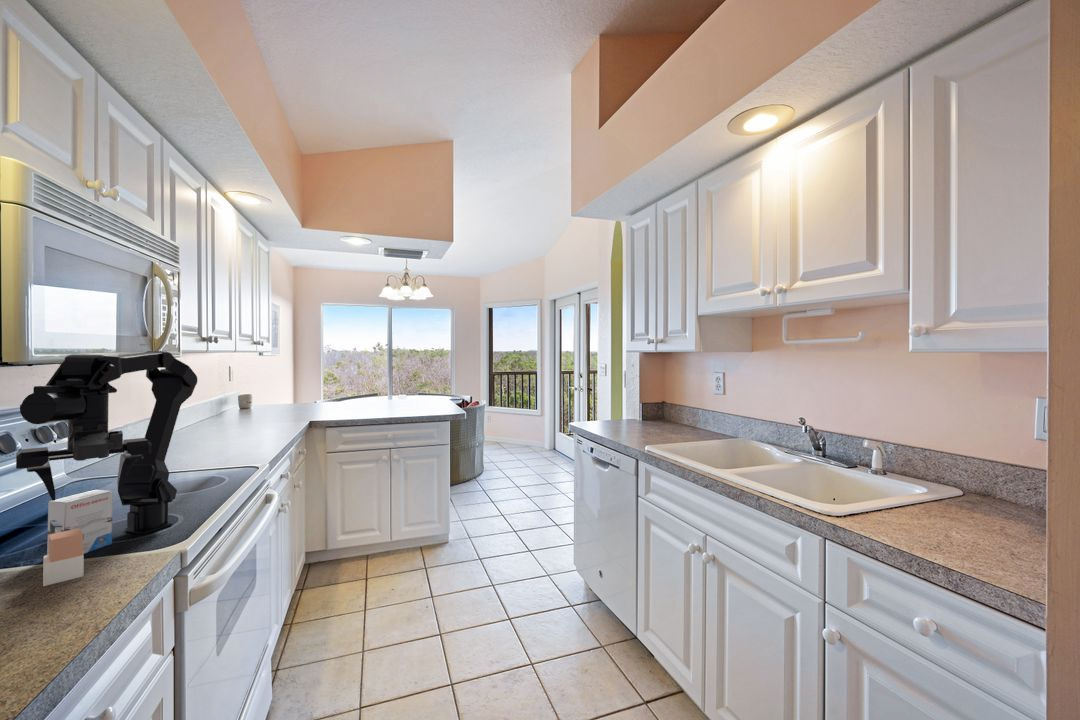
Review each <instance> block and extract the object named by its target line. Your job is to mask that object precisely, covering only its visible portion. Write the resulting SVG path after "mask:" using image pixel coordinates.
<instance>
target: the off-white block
mask: <svg viewBox="0 0 1080 720" xmlns="http://www.w3.org/2000/svg"><path fill="white" fill-rule="evenodd" d="M84 555H85V554H83V555H80V556H76V557H72V558H68V559H63V560H59V561H55V562H51V561H50V559H49V556H48V555H47V554H46V555H43V562H42V564H43V566H42V571H43V573H42V586H43V587H45V586H49V585H54V584H58V583H61V582H62V583H63V582H67V581H69V580H74V579H77V578H83V577H84V565H85V564H84V562H85V561H84V559H85V558H84V557H85V556H84Z"/></svg>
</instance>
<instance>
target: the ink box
mask: <svg viewBox="0 0 1080 720" xmlns="http://www.w3.org/2000/svg"><path fill="white" fill-rule="evenodd" d="M113 498H114V491H113V490H103V489H93V490H89V491H84V492H81V493H77V494H73V495H72V494H71V495H68V496H64V497H60V498H57V499H56V498H55V500H54V501H52V500H49V501H48V506H47V507H48V508H47V509H48V511H47V547H46V555H49V534H54V533H59V532H64V531H69V530H74V529H78V528H80V530H81V531H82V533H83V555H85V554H87V553H90V552H94V551H96V550H98V549H101V548H104V547H107V546H110V545H112V543H113V507H114V506H113V505H114V504H113V503H114V499H113Z"/></svg>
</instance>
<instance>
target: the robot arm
mask: <svg viewBox="0 0 1080 720" xmlns="http://www.w3.org/2000/svg"><path fill="white" fill-rule="evenodd" d="M159 368H161V369H159ZM141 371H142V372H143V371H146V373H145V377H146V378H147V379H148V381H150V382H151V383H152V385H151V392H152V394H153V396H154V397H153V398H155V403H154V407H153V410H152V413H151V416H150V419H149V422H148V425H147V429H146V432H145V435H144V437H138V438H129V439H124V436H123V435H124V434H123V433H124V432H123V431H122V430H112V431H109V398H110V397H109V394H112V393H113V394H115V393H117V392H118V389H117V388H116V387H114V386H113V385H111V384H110V382H113V381H115V380H118V379H120V378H121V376H122V375H125V374H129V373H135V372H141ZM197 384H198V376H197V374H196V373H195V372H194V370H193V369H192V368H191V367H190V366H189V365H188V364H186V363H184V362H183V361H181V360H179V359H177V358H175V356H174V355H173V354H172V353H171V352H168V351H165V350H147V351H144V352H137V353H129V354H118V355H110V354H70V355H67V356H65V357H64V360H63V361H62V362H61V364H59V366H58V368H57V369H56V370H55V372H54V373H53V375H52V376H51V378H50V379H49V380H48V381H47V383H46V384H45V385H35V386H34V387H33V392H31V394H29V395H27V396H26V397H25V398H24V399H23V400H22V403H21V404H20V405H19V412H20V414H21V417H22V418H23V419H24V420H25V421H26V422H27V423H30V424H33V425H44V424H51V423H57V422H58V423H59V422H63V421H65V422H66V421H67V446H66V449H55V450H49V449H48V446H44V447H34V448H33V447H32V448H23V449H20V450H18V451H17V452H16V456H15V460H16V461H15V463H16V464H15V467H16V468H15V469H20V470H21V469H26V472H27V473H33V472H34V473H36V475H38V477H39V478H40V479H41V480H42V482H43V484H44V486H45V488H46V490H47V493H48V495H49V497H50V499H51V501H54V500H56V490H55V489H56V487H55V484H54V477H53V473H52V469H51V468H52V467H51V464H50V461H58V460H68V459H73V460H74V461H78V462H80V461H81V462H82V461H85V460H90V459H105V458H107V457H108V458H109V456H110V455H112V454H120V459H119V464H118V472H117V481H116V487H117V489H116V490H117V494H118V497H119V499H120V502H121V506H129V512H127V517H126V518H127V519H126V521H127V522H126V525H127V526H126V527H125V528H124V531H125V532H129V533H134V534H139V535H144V534H147V533H152V532H154V531H158V530H160V529H164V528H167V527H169V526H173V524H174V523H173V522H171V521H170V522H169V503H172V502H173V501H174V500H175V499H176V496H177V492H178V490H177V488H176V487H175V486H174V485H173V484H172V483H171V482H170V481H169V478H170V477H169V476H170V472H169V469H168V466H167V464H166V462H165V460H166V457H167V454H168V449H169V447H170V443H171V441H172V436H173V433H174V430H175V426H176V423H177V419H178V416H179V413H180V409H181V406H182V404H183V403H185V401H187V400H188V399H189V398H190V397H191V396H192V395H193V393H194V391H195V388H196V386H197Z"/></svg>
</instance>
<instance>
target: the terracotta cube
mask: <svg viewBox="0 0 1080 720" xmlns="http://www.w3.org/2000/svg"><path fill="white" fill-rule="evenodd" d="M80 555H84V554H83V533H82V531H81V530H80V528H78V529H74V530H69V531H64V532H59V533H54V534H49V555H48V556H49V559H50V561H51V562H55V561H59V560H63V559H68V558H72V557H76V556H80Z"/></svg>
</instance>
